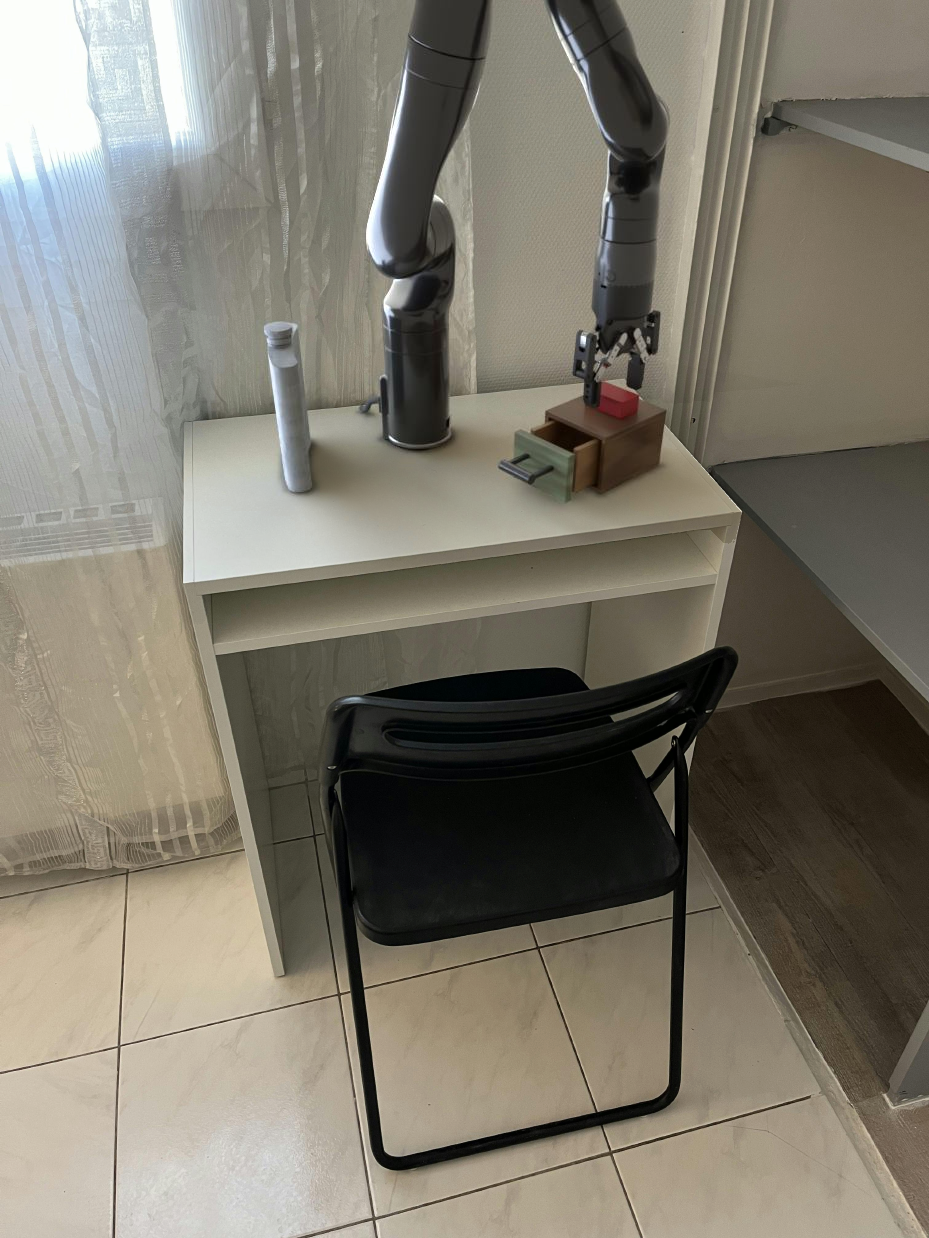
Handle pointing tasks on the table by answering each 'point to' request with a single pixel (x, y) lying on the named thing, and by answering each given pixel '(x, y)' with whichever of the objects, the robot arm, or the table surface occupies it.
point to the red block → (617, 401)
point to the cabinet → (617, 438)
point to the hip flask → (290, 403)
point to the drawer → (555, 459)
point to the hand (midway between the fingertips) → (612, 397)
